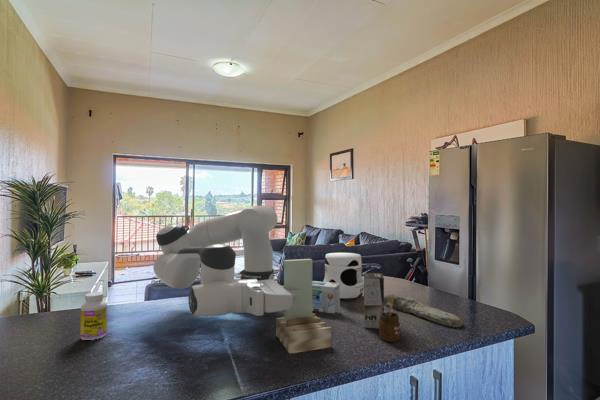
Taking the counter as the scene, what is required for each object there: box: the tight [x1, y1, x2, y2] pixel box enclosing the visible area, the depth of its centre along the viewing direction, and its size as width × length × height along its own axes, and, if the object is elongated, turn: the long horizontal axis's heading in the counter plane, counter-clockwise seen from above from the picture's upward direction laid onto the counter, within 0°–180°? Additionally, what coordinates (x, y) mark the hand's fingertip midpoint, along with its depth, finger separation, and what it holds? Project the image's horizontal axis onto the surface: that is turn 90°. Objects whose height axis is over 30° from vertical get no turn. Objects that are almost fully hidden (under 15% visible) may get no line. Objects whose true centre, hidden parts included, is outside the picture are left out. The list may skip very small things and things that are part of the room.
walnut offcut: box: [286, 315, 320, 327], centre depth 94 cm, size 9×2×6 cm, turn 110°
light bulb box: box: [312, 280, 341, 314], centre depth 122 cm, size 11×7×11 cm, turn 68°
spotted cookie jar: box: [322, 252, 364, 301], centre depth 143 cm, size 17×17×18 cm
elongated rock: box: [384, 293, 463, 328], centre depth 123 cm, size 35×5×10 cm
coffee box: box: [363, 272, 385, 330], centre depth 112 cm, size 9×6×16 cm
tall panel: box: [283, 258, 313, 322], centre depth 97 cm, size 8×2×20 cm, turn 110°
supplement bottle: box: [80, 291, 108, 341], centre depth 100 cm, size 7×7×13 cm
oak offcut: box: [294, 325, 321, 331], centre depth 90 cm, size 7×2×5 cm, turn 110°
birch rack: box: [275, 313, 333, 354], centre depth 94 cm, size 12×13×6 cm
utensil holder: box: [378, 295, 401, 343], centre depth 99 cm, size 6×6×12 cm
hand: (297, 290), depth 97 cm, fingers closed on tall panel, 2 cm apart
